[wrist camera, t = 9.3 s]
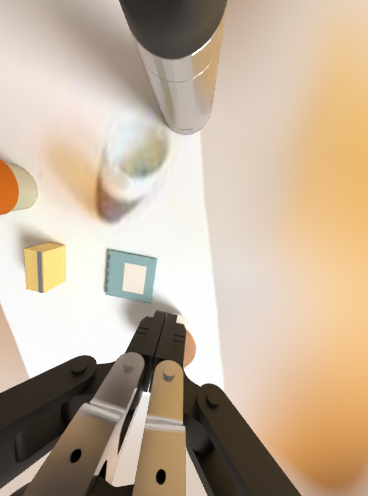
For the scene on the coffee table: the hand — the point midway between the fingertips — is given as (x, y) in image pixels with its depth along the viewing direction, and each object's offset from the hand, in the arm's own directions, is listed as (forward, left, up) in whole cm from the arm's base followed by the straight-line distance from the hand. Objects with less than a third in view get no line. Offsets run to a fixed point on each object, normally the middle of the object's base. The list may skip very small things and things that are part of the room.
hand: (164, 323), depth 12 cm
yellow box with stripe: (+10, -30, -27) cm, 41 cm away
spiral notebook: (+10, -12, -27) cm, 31 cm away
